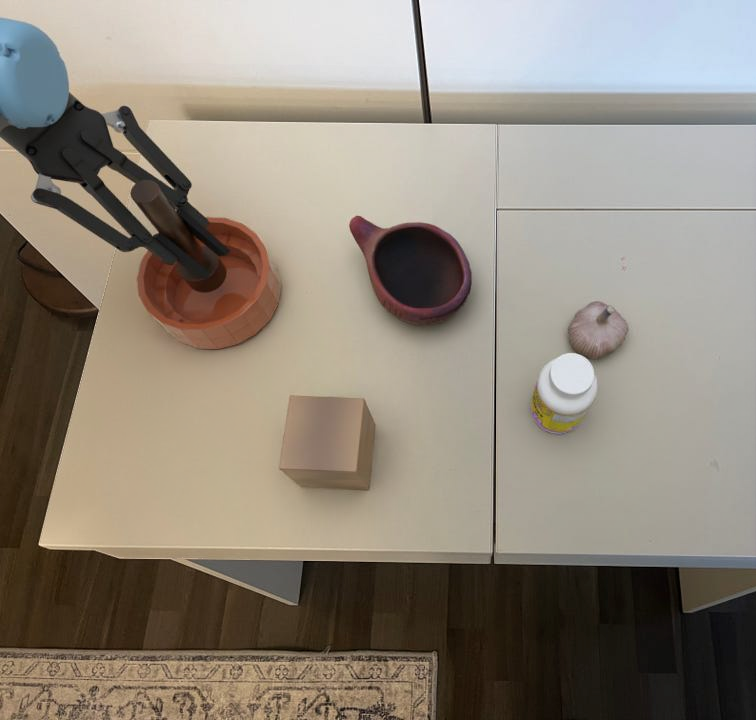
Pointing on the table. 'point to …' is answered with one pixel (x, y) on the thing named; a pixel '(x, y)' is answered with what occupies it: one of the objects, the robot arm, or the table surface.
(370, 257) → the bowl
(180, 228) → the cylinder
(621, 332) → the garlic bulb
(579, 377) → the supplement bottle
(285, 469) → the cube
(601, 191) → the table surface
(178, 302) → the mixing bowl
